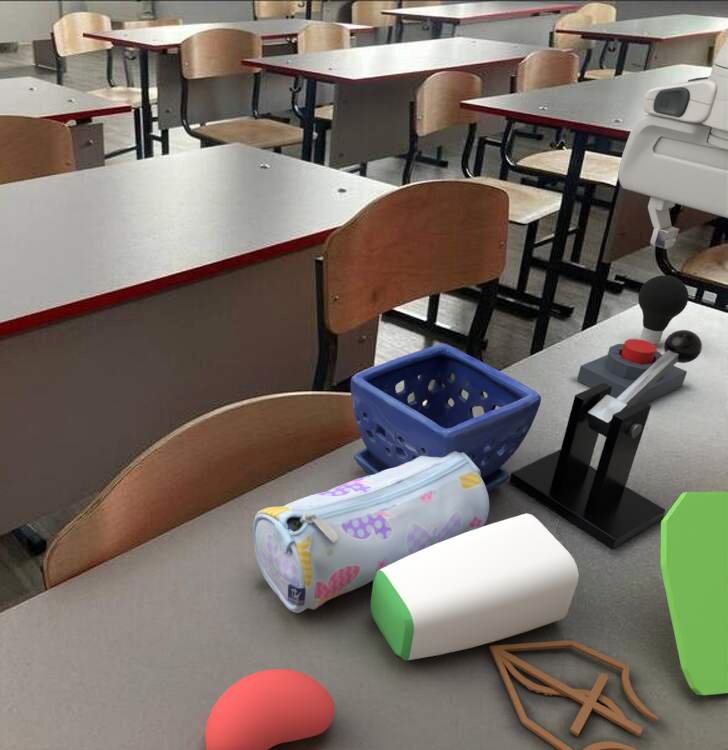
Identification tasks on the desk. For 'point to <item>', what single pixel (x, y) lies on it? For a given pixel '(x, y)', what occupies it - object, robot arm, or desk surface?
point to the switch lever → (646, 379)
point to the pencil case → (366, 527)
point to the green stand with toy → (698, 586)
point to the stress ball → (268, 711)
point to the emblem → (569, 692)
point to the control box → (628, 375)
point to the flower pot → (440, 412)
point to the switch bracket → (594, 474)
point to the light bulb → (660, 305)
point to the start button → (638, 351)
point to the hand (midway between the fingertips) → (709, 261)
